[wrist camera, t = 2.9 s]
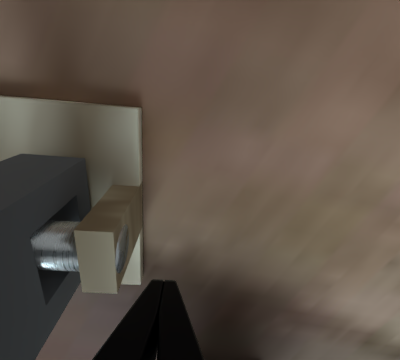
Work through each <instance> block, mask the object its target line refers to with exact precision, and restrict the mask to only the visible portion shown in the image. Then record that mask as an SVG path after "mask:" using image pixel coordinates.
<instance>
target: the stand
mask: <svg viewBox="0 0 400 360" xmlns="http://www.w3.org/2000/svg"><path fill="white" fill-rule="evenodd" d="M19 154H34V155H48V156H62V157H75V158H85V161H86V171H87V180H88V190H89V199H90V208H91V211H90V212H89V213H88V214H87V215H86V216H85V218H84V219H83V220H82V221H81V222H80V223H79V225H78V226H77V227H76V228H75V229H74V237H75V244H76V251H77V258H78V265H79V272H80V279H81V286H82V292H87V293H113V294H117V293H118V290H119V288H120V285H121V284H131V285H141V282H142V278H143V206H142V108H140V107H129V106H118V105H106V104H95V103H83V102H72V101H60V100H49V99H37V98H26V97H14V96H3V95H0V161H2V160H5V159H8V158H10V157H13V156H16V155H19ZM125 224H126V225H127V226H128V229H127V232H126V234H127V237H128V234H129V246H128V253H127V258H126V261H125V265H124V264H123V265H124V267H123V268H122V271H121V272H120V273H117V271H116V266H115V256H116V248H117V242H118V238H119V235H120V232H121V229H122V227H123V226H124V225H125ZM127 237H126V243H127ZM126 243H125V245H126ZM125 247H126V246H125ZM125 250H126V248H125ZM124 252H125V251H124ZM125 253H126V252H125ZM124 258H125V254H124Z"/></svg>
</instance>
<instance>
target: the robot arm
mask: <svg viewBox="0 0 400 360" xmlns="http://www.w3.org/2000/svg"><path fill="white" fill-rule="evenodd" d="M156 354H157V360H204V358H203V355H202V352H201V349H200V347H199V344H198V341H197V338H196V335H195V333H194V330H193V327H192V324H191V321H190V318H189V316H188V313H187V310H186V307H185V304H184V302H183V299H182V296H181V293H180V290H179V288H178V285H177V282H176V281H175V280H165V281H163V280H155V279H153V280H151V282H150V283H149V284H148V286H147V287H146V288H145V290H144V291H143V292H142V294H141V295H140V296H139V298H138V299H137V300H136V302H135V303H134V304H133V306H132V307H131V308H130V310H129V311H128V312H127V314H126V315H125V316H124V318H123V319H122V320H121V322H120V323H119V324H118V326H117V327H116V328H115V330H114V331H113V332H112V334H111V335H110V337H109V338H108V339H107V341H106V342H105V343H104V345H103V346H102V347H101V349H100V350H99V351H98V353H97V354H96V355H95V357H94V358H93V359H92V360H155V359H156Z"/></svg>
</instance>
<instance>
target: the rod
mask: <svg viewBox="0 0 400 360" xmlns="http://www.w3.org/2000/svg"><path fill="white" fill-rule="evenodd" d="M79 223H80V222H73V221H56V220H48V221H47V222H45V223H44V224H43V225H42V226H41V227H40V228H39V229H38V230H36V231H35V232H34V233H33V234H32V235H31V236H30V239H31V243H32V248H33V252H34V256H35V261H36V265H37V269H38V270H53V271H76V272H79V265H78V258H77V251H76V244H75V237H74V229H75V228H76V227H77V226H78V225H79ZM127 229H128V226H127V225H126V224H125V225H124V226H123V227H122V229H121V232H120V235H119V238H118V242H117V248H116V256H115V266H116V271H117V273H120V272H121V271H122V268H123V267H124V265H125V261H126V258H127V253H128V246H129V234H128V237H127V234H126V232H127ZM126 237H127V243H126ZM125 243H126V245H125ZM125 246H126V247H125ZM125 248H126V250H125ZM124 251H125V252H126V253H125V252H124ZM124 254H125V258H124ZM123 264H124V265H123Z"/></svg>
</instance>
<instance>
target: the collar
mask: <svg viewBox="0 0 400 360" xmlns="http://www.w3.org/2000/svg"><path fill="white" fill-rule="evenodd" d="M90 211H91V208H90V199H89V190H88V180H87V171H86V161H85V158H75V157H62V156H48V155H34V154H19V155H16V156H13V157H10V158H8V159H5V160H2V161H0V360H35V359H36V357H37V355H38V354H39V352H40V350H41V348H42V347H43V345H44V343H45V342H46V340H47V338H48V337H49V335H50V333H51V331H52V330H53V328H54V326H55V325H56V323H57V321H58V320H59V318H60V316H61V314H62V313H63V311H64V309H65V308H66V306H67V304H68V303H69V301H70V299H71V297H72V296H73V294H74V292H75V291H76V289H77V287H78V286H79V284H80V282H81V279H80V272H76V271H53V270H38V269H37V265H36V261H35V256H34V252H33V248H32V243H31V239H30V236H31V235H32V234H33V233H34V232H35V231H36V230H38V229H39V228H40V227H41V226H42V225H43V224H44V223H45V222H47V221H48V220H56V221H73V222H81V221H82V220H83V219H84V218H85V216H86V215H87V214H88V213H89V212H90Z"/></svg>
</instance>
